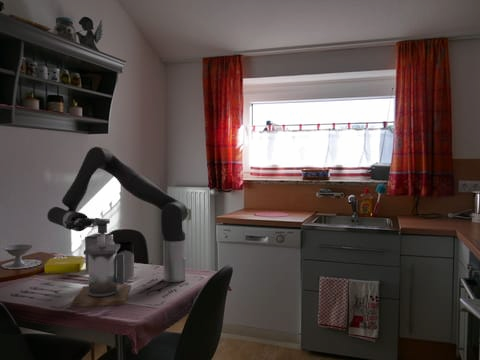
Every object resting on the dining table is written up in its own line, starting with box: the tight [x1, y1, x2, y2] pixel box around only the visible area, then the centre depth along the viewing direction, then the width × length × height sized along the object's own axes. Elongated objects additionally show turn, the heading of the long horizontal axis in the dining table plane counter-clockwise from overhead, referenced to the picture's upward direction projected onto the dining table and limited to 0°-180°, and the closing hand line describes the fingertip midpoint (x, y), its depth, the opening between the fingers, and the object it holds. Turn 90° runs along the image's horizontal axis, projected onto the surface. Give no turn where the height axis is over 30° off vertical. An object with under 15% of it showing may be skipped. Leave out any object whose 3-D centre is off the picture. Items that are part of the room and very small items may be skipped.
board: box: [71, 284, 132, 308], centre depth 152 cm, size 18×18×2 cm
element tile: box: [44, 255, 85, 275], centre depth 190 cm, size 15×15×5 cm
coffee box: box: [84, 233, 100, 273], centre depth 188 cm, size 9×6×16 cm
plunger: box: [95, 218, 111, 248], centre depth 150 cm, size 5×5×11 cm
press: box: [83, 243, 125, 298], centre depth 151 cm, size 13×11×17 cm
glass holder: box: [115, 241, 136, 282], centre depth 179 cm, size 9×14×15 cm, turn 20°
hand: (92, 225), depth 157 cm, fingers open, 8 cm apart
